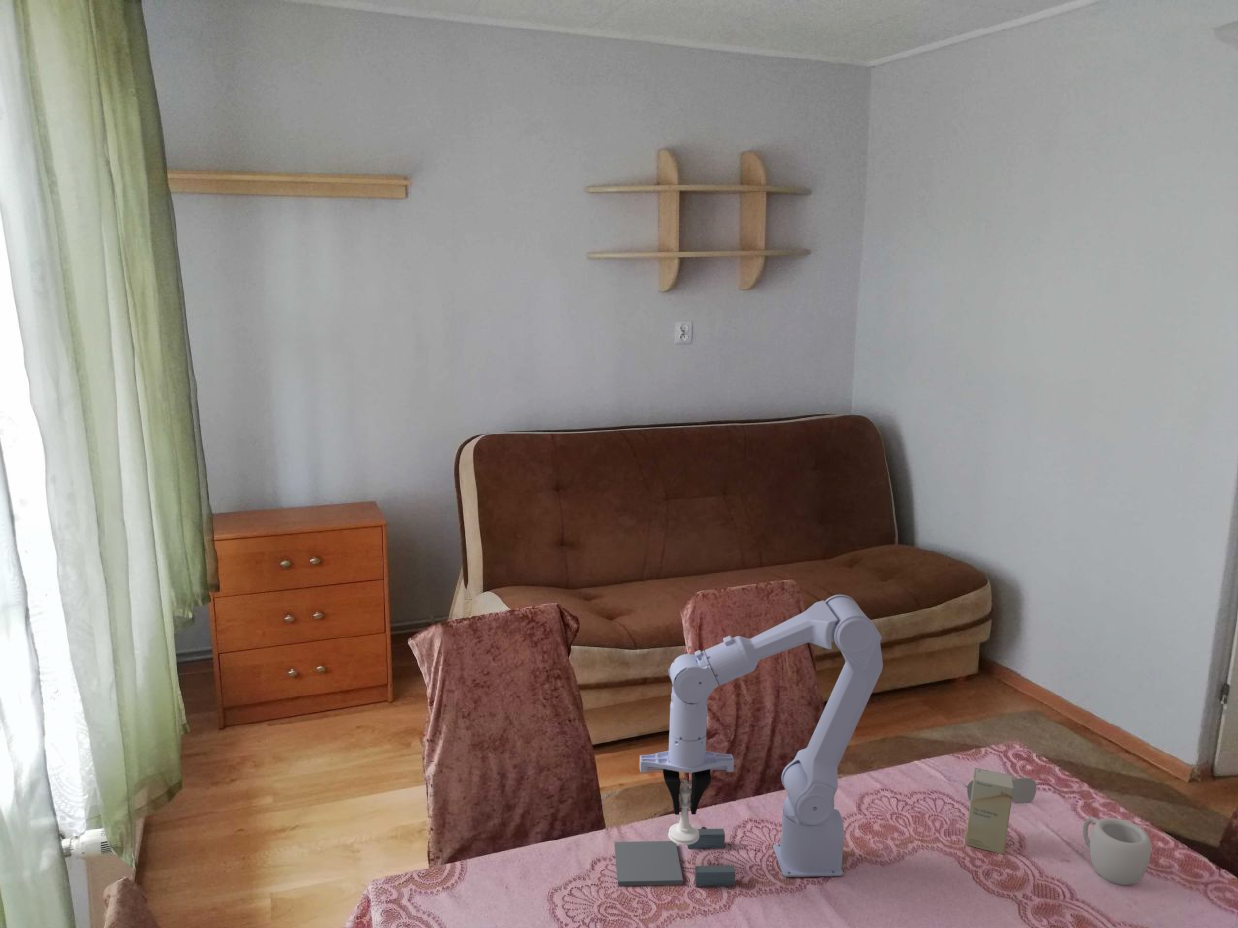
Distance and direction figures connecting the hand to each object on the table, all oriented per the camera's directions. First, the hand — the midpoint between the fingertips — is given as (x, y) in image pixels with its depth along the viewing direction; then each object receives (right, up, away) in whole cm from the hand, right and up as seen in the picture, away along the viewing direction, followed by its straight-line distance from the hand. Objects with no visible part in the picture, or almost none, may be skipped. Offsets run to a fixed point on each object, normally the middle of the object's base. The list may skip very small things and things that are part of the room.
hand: (684, 810), depth 149 cm
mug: (+68, -11, +3) cm, 69 cm away
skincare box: (+51, -9, +9) cm, 52 cm away
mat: (-6, -9, +2) cm, 11 cm away
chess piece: (0, -4, +1) cm, 5 cm away
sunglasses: (+58, -6, +25) cm, 63 cm away
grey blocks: (+4, -9, +2) cm, 10 cm away
